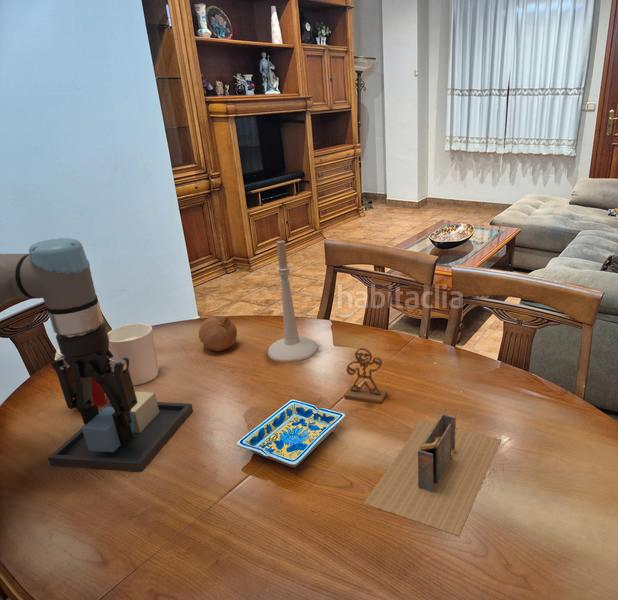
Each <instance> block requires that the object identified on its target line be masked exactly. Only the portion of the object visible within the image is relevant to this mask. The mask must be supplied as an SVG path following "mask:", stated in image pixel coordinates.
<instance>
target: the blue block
mask: <svg viewBox="0 0 618 600" xmlns="http://www.w3.org/2000/svg"><path fill="white" fill-rule="evenodd" d="M105 407H106V406H105ZM105 407H104V408H102V409H103V410H102V409H101V410H102V411H101V410H100V411H101V412H100V411H99V412H100V413H99V414H98V415H97V416H95V417H94V418H93V419H92V420H91V421H90V422H89V423H87V424H86V425H85V424H84V425H85V426H84V425H83V426H84V427H83V426H82V427H83V428H82V427H81V428H82V431H83V434H84V437H85V441H86V444H87V447H88V450H89V451H100V452H114V451H115V450H116V449H117V448H118V447H119V446H120V445H121V444H120V440H119V437H118V433H117V430H116V427H115V423H114V420H113V417H112V414H113V413H114V412H115V410H114V409H113V407H106V408H105ZM129 412H130V416H131V420H132V422H131V424H130V427H131V431H132V433H133V432H134V431H135V430H136V427H135V424H134V420H133V416H132V413H131V410H130V411H129Z"/></svg>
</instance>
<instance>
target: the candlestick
mask: <svg viewBox="0 0 618 600" xmlns="http://www.w3.org/2000/svg"><path fill="white" fill-rule="evenodd" d="M275 243H276V251H277V261H278V266H277V267H276V268H275V270H276V271H278V276H279V277H280V279H281V281H280V285H281V301H282V303H281V304H282V318H283V332H284V333H283V336H284V337H283V338H280V339H277V341H274V342H273V343H272V344H271V345H270V346H269V347H268V348H267V356H268V357H269V358H270V359H271V360H273V361H275V362H279V363H296V362H301V361H304V360H308V359H309V358H311V357H313V356H314V355H315V354H316V353H317V352H318V349H319V347H318V346H319V345H318V343H317V342H316V340H314V339H312V338H309V337H307V336H303V335H302V336H301V335H300V336H299V331H298V325H297V320H296V314H295V307H294V301H293V296H292V291H291V284H290V280H289V275H290V273H291V272H290V269H292V266H290V265H288V259H287V249H286V242H285V240H282V239H280V240H277V241H276V242H275Z"/></svg>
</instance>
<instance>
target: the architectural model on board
mask: <svg viewBox="0 0 618 600" xmlns="http://www.w3.org/2000/svg"><path fill="white" fill-rule="evenodd" d="M456 419H457V417H456V416H453V415H448V414H445V413H442V414H441V415H440V417H439V418H438V420H437V421H436V422H433V421H429V420H425V419H422V420H420V422H419V424H418V425H417V427H416V428H415V429H414V431H413V432H412V434H411V435H410V436H409V438H408V439H407V441H406V442H405V443H404V445H403V447H402V448H401V449H400V450H399V452H398V453H397V455H396V456H395V458H394V460H393V461H392V462H391V463H390V465H389V467H388V468H387V469H386V471H385V472H384V474H382V476H381V478H380V479H379V481H378V482H377V483H376V485H375V487H374V488H373V490H372V491H371V492H370V494H368V496H367V498H366V500H364V502H363V504H364V505H367V506H370V507H373V508H376V509H378V510H382V511H385V512H387V513H390V514H394V515H397V516H399V517H402V518H406V519H409V520H411V521H414V522H417V523H420V524H423V525H425V526H429V527H431V528H434V529H437V530H441V531H444V532H446V533H450V534H453V535H456V536H458V537H459V536H460V535H461V532H462V531H463V528H464V526H465V523H466V521H467V518H468V516H469V513H470V511H471V510H472V507H473V505H474V503H475V500H476V498H477V496H478V493H479V491H480V489H481V487H482V484H483V482H484V480H485V477H486V475H487V472H488V470H489V468H490V466H491V464H492V462H493V460H494V457H495V455H496V453H497V451H498V447H499V446H500V443H501V441H502V439H500V438H496V437H493V436H488V435H485V434H481V433H476V432H473V431H468V430H466V429H465V430H464V429H460V428H456V424H457V423H456Z"/></svg>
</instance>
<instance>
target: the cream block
mask: <svg viewBox="0 0 618 600" xmlns="http://www.w3.org/2000/svg"><path fill="white" fill-rule="evenodd" d="M135 395H136V398H137V404H136V405H135V406H134V407H133V408H132V409H131V413H132V416H133V420H134V424H135V427H136V430H135V431H134V432H136V433H141V432H142V430H143V429H144V428H145V427H146V426H147V425H148V424H149V423H150V422H151V421H152V420H153V419H154V418H155V417H156V416H157V415H158V414H159V408H158V404H157V402H158V400H157V396H156V392H154V391H153V392H152V391H135Z"/></svg>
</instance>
